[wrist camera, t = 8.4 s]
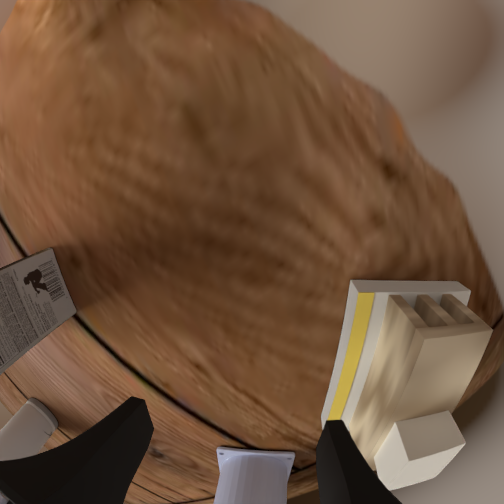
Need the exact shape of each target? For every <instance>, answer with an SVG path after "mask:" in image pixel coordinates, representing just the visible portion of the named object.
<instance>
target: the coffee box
mask: <svg viewBox="0 0 504 504" xmlns="http://www.w3.org/2000/svg"><path fill="white" fill-rule="evenodd" d="M76 312H77V311H76V308H75V306H74V304H73V302H72V299H71V297H70V295H69V292H68V290H67V287H66V285H65V282H64V280H63V277H62V275H61V272H60V269H59V266H58V264H57V261H56V258H55V255H54V252H53V249H52V248H47V249H45V250H42V251H40V252H37V253H35V254H32V255H30V256H28V257H25V258H23V259H21V260H18V261H16V262H13V263H11V264H9V265H7V266H4V267H2V268H0V375H1V374H2V373H3V372H4V371H5V370H6V369H7V368H9V367H10V366H11V365H12V364H13V363H14V362H16V361H17V360H18V359H19V358H20V357H21V356H23V355H24V354H25V353H26V352H27V351H29V350H30V349H31V348H32V347H33V346H35V345H36V344H37V343H38V342H40V341H41V340H42V339H43V338H45V337H46V336H47V335H48V334H50V333H51V332H52V331H53V330H55V329H56V328H57V327H59V326H60V325H61V324H62V323H64V322H65V321H66V320H67V319H69V318H70V317H71V316H73V315H74V314H75V313H76Z"/></svg>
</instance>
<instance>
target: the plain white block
mask: <svg viewBox="0 0 504 504" xmlns="http://www.w3.org/2000/svg"><path fill="white" fill-rule="evenodd" d="M465 443H466V442H465V440H464V438H463V436H462V434H461V432H460V431H459V429H458V427H457V425H456V423H455V421H454V419H453V417H452V416H451V414H450V412H449V410H447V411H444V412H440V413H436V414H432V415H427V416H423V417H418V418H414V419H409V420H403V421H398V422H395V423H394V425H393V427H392V428H391V430H390V432H389V434H388V435H387V437H386V439H385V440H384V442H383V444H382V445H381V447H380V449H379V450H378V452H377V453H376V455H375V456H374V461H375V465H376V469H377V474H378V478H379V479H380V481H381V482H382V483H383V484H384V485H385V486H386V488H387V489H388V490H389V491H390V490H393V489H398V488H402V487H406V486H409V485H413V484H416V483H419V482H422V481H425V480H429V479H432V478H435V477H436V476H437V475H438V474H439V473H440V472H441V471H442V470H443V469H444V468H445V467H446V465H447V464H448V463H449V462H450V461H451V460H452V459H453V458H454V457H455V455H456V454H457V453H458V452H459V451H460V450H461V448H462V447H463V446H464V445H465Z"/></svg>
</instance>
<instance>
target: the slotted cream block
mask: <svg viewBox="0 0 504 504" xmlns="http://www.w3.org/2000/svg"><path fill="white" fill-rule="evenodd" d="M492 332H493V329H492V328H491V327H490V326H488V325H487V324H486V323H485V322H484V321H483V320H482V319H481V318H479V317H478V316H477V315H476V314H475V313H474V312H472V311H471V310H470V309H469V308H468V307H467V306H465V305H464V304H463V303H462V302H461V301H459V300H458V299H457V298H456V297H454V296H453V295H452V294H442V298H441V302H440V305H438V304H437V303H436V302H435V301H434V300H433V299H432V298H431V297H430V296H429V295H428V294H421V295H417V299H416V303H415V307H414V309H413V308H412V307H411V306H410V305H409V304H408V303H407V302H406V301H405V299H404V298H403V297H402V296H401V295H389V296H388V301H387V306H386V310H385V314H384V319H383V323H382V327H381V331H380V334H379V338H378V342H377V345H376V349H375V352H374V356H373V359H372V362H371V366H370V369H369V372H368V375H367V378H366V381H365V384H364V387H363V390H362V392H361V395H360V398H359V401H358V403H357V406H356V408H355V411H354V414H353V416H352V418H351V421H350V423H349V429H350V434H351V437H352V439H353V440H354V442H355V444H356V446H357V447H358V449H359V451H360V452H361V454H362V455H363V457H364V458H365V460H366V461H367V463H368V464H369V466H370V467H371V469H372V470H373V471H374V470H377V469H376V465H375V461H374V456H375V455H376V453H377V452H378V450H379V449H380V447H381V445H382V444H383V442H384V440H385V439H386V437H387V435H388V434H389V432H390V430H391V428H392V427H393V425H394V423H395V422H398V421H403V420H409V419H414V418H418V417H423V416H427V415H432V414H436V413H440V412H444V411H447V410H449V412H450V414H452V412H453V410H454V409H455V407H456V405H457V404H458V402H459V400H460V399H461V397H462V395H463V393H464V392H465V390H466V388H467V386H468V384H469V382H470V381H471V379H472V377H473V375H474V373H475V371H476V369H477V367H478V364H479V362H480V360H481V358H482V356H483V353H484V351H485V349H486V347H487V344H488V342H489V339H490V337H491V334H492Z"/></svg>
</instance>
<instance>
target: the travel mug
mask: <svg viewBox="0 0 504 504" xmlns="http://www.w3.org/2000/svg"><path fill="white" fill-rule="evenodd" d="M57 427H58V422H57V420H56V418H55V417H54V415H53V414H52V413H51V412H50V410H49V409H48V408H47V407H46V406H44V405H43V404H42V403H41V402H40V401H38V400H37V399H35V398H30V399H29V400H28V401H27V402H26V404H24V405H23V406H22V407H21V408H20V410H19V411H18V412H17V413H16V414H15V415H14V416H13V417H12V419H10V421H9V422H8V423H7V424H6V425H5V426H4V427H3V428H2V430H1V431H0V461H5V460H14V459H20V458H25V457H29V456H33V455H37V453H38V452H39V451H40V449H41V448H42V447H43V445H44V444H45V443H46V441H47V440H48V439H49V437H50V436H51V435H52V433H53V431H55V430H56V428H57Z"/></svg>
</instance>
